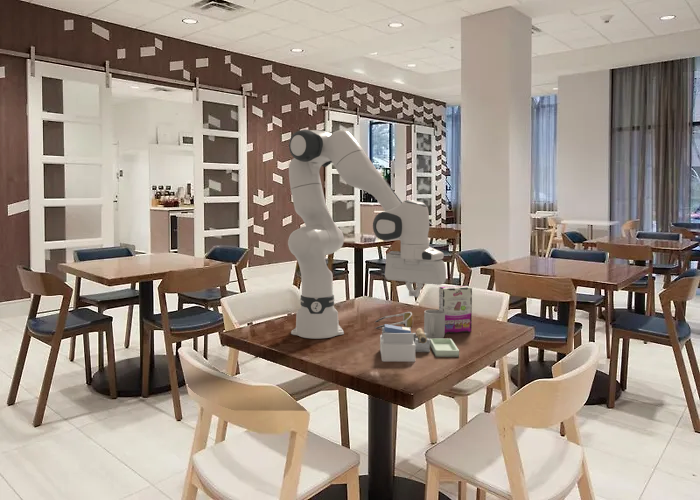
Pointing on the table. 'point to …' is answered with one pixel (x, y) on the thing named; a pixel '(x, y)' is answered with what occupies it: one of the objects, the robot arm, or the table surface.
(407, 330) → the blue box
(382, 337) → the grey card holder
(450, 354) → the tray
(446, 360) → the table surface
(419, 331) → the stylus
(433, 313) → the cup
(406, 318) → the sunglasses
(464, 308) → the candy bar box
